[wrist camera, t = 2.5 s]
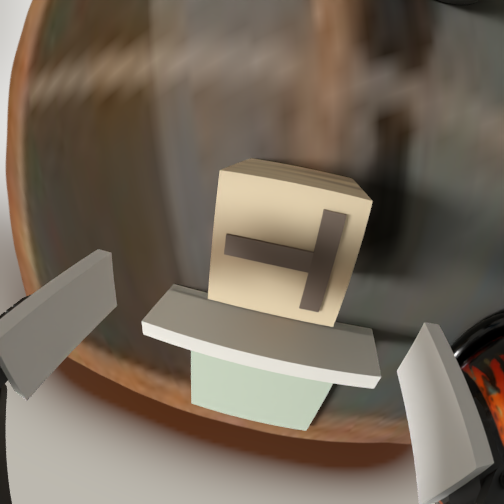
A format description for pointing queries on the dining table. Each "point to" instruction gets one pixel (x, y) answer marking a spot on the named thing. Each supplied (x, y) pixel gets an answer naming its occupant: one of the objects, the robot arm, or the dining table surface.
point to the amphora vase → (485, 372)
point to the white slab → (265, 339)
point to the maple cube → (286, 239)
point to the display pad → (255, 392)
